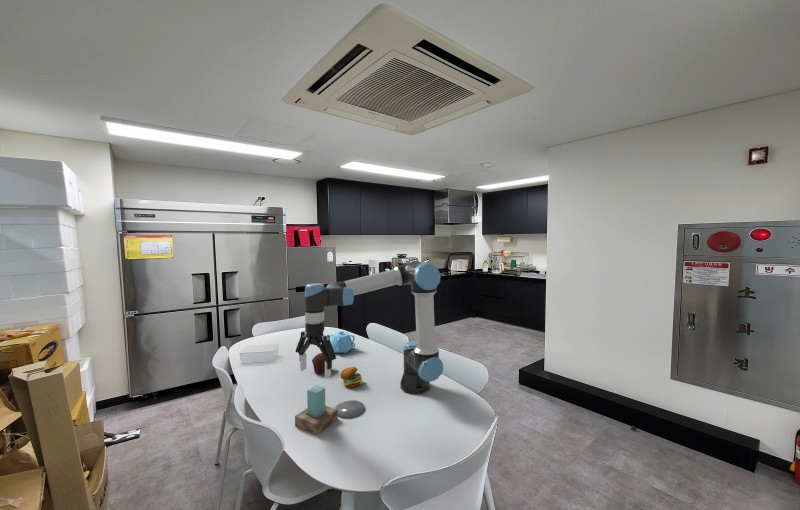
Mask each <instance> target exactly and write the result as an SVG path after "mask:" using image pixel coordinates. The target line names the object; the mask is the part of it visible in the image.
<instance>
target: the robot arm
mask: <svg viewBox="0 0 800 510" xmlns="http://www.w3.org/2000/svg"><path fill="white" fill-rule="evenodd" d="M440 283H441V273H440V270H439V269H438V267H436V266H435V265H434V264H432V263H429V262H425V261H424V262H423V261H411V262H408V263H404V264H401V265H398V266H394V268H393V269H390V270H386V271H382V272H377V273H373V274H370V275H366V276H361V277H357V278H353V279H348V280H345V281H340V282H330V283H329V284H327V286H325V285H324V283H319V282H318V283H308V284H307V285H305V287H304V309H305V311H304V312H305V313H304V321H305V323H304V325H305V327H304V331H303V330H302V331H301V332H300V338H299V340H298V342H297V344H296V345H297V346H296V348H295V353H298V356H299V359H298V360H299V363H300V364H299V365H300V366H299V371H301V372H304V371H305V370H307V350H308V349H309V347H310V346H311V345H313V346H316V347H317V348H319V350H320V353H322V354H323V356H324V357H325V359H326V361H325V374H324V379H327V378H329V377H331V376H332V368H333V361H334V360H336V359H337V356H336V353H334V350H333V347H332V344H331V336H329V335H330V334H327V335H325V334H324V332H325V322H324V321H325V307H327V308H328V307H342V306H344V307H345V306H350V305H353V304H354V301H355V300H354V299H355V298H354V296H357V295H361V294H365V293H368V292H373V291H376V290H380V289H385V288H388V287H392V286H396V285H397V286H405V285H410V288H411V290H410V291H411V294H412V295H413V296H414V305H415V306H414V308H415V331H416V340H415V341H414V340H413V341H408V342H405V343H404V344H403V350H402V351H403V373H402V377H401V380H400V383H399V384H400V385H399V387H400V390H402V392H404V393H407V394H413V395H419V394H424V393H427V392H428V391H429V390H430V389H431V382H434V381H437V380H438V379H439V378H440V376H441V375H442V374H443V371H444V363H443V361H442V359H440V352H439V351H440V349H439V347H438V346H436V332H435V329H436V328H435V327H436V326H435V310H434V308H435V304H434V303H435V302H434V300H435V299H434V298H435V297H434V295H435V294H436V293H437V292H438V291H437V290H438V289H437V287H438V285H439V284H440ZM328 357H329V358H328Z"/></svg>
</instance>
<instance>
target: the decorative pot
mask: <svg viewBox="0 0 800 510" xmlns="http://www.w3.org/2000/svg"><path fill="white" fill-rule="evenodd" d="M328 335H329V336H330V337H331V338H330V342H331V344H332V347H333V350H334V353H335V354H337V353H338V354H339V353H342V354H347V353H348V352H350V351H351V349H352V348H355V347H356V343H355V339H356V337H355V335H353V334H350V333H349V332H347V331H346V332H345V331H344V330H340V331H338V332H335V333H334V334H328ZM351 337H352V338H351Z"/></svg>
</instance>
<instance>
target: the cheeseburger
mask: <svg viewBox="0 0 800 510" xmlns="http://www.w3.org/2000/svg"><path fill="white" fill-rule="evenodd" d="M340 379H342V384H343V385H344V386H345V387H347V388H354V387H358V386H361V385H362V384H363V382H364V381H363V378H362V374H361V373H359V372H358V368H357V367H356V366H349V367H346V368H344V369H343V370H342V371H341V372H340Z"/></svg>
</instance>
